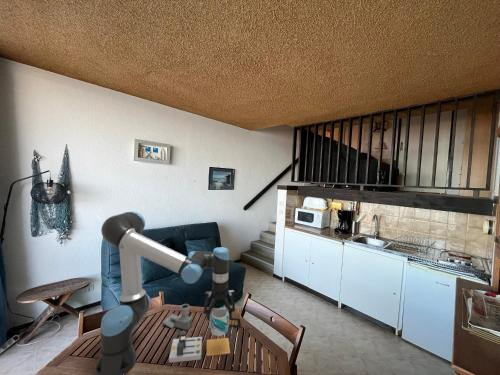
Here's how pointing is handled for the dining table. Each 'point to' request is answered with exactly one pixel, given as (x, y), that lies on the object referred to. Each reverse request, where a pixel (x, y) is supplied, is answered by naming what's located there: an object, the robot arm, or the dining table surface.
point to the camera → (180, 319)
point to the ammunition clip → (235, 317)
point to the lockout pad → (218, 347)
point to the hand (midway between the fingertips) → (219, 325)
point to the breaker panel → (187, 350)
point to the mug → (219, 321)
